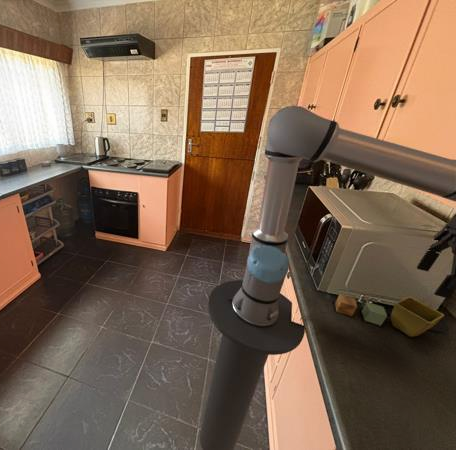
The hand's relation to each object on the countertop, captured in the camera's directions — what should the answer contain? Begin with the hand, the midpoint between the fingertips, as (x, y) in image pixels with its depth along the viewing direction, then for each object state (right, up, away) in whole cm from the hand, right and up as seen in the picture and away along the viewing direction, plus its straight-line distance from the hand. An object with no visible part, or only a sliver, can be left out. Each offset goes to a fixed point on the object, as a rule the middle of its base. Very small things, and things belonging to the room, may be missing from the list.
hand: (430, 281), depth 73 cm
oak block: (-15, -13, +14) cm, 25 cm away
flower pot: (0, -17, +7) cm, 19 cm away
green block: (-8, -15, +11) cm, 20 cm away
